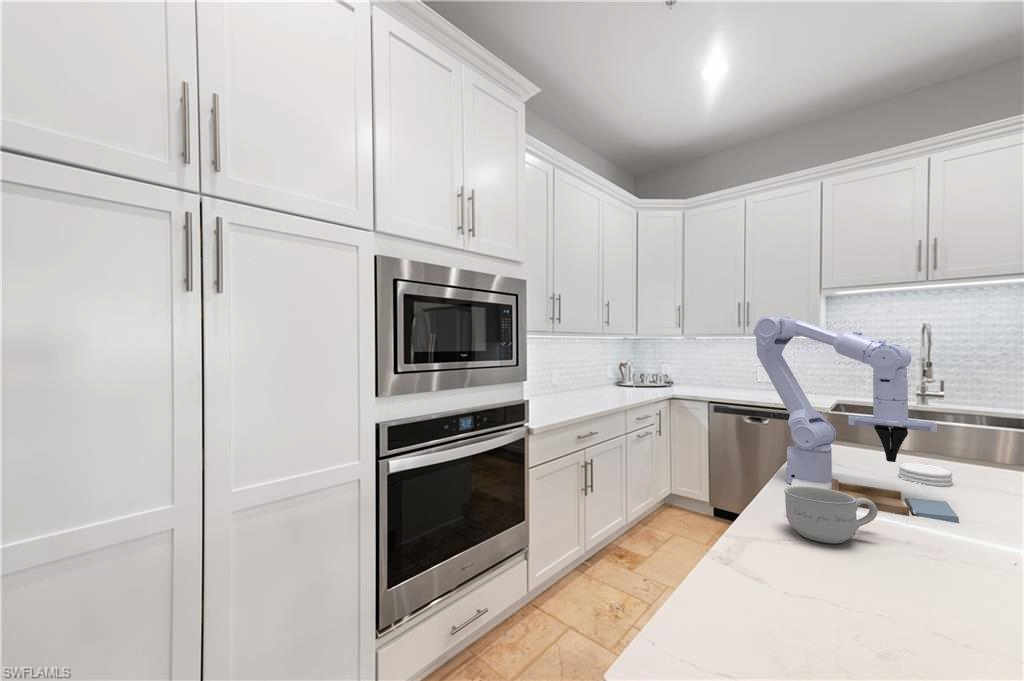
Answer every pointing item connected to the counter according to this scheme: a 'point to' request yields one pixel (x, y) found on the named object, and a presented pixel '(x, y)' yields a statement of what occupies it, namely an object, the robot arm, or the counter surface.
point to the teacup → (825, 513)
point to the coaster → (925, 474)
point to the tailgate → (931, 509)
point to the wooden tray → (874, 497)
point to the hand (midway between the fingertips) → (890, 460)
